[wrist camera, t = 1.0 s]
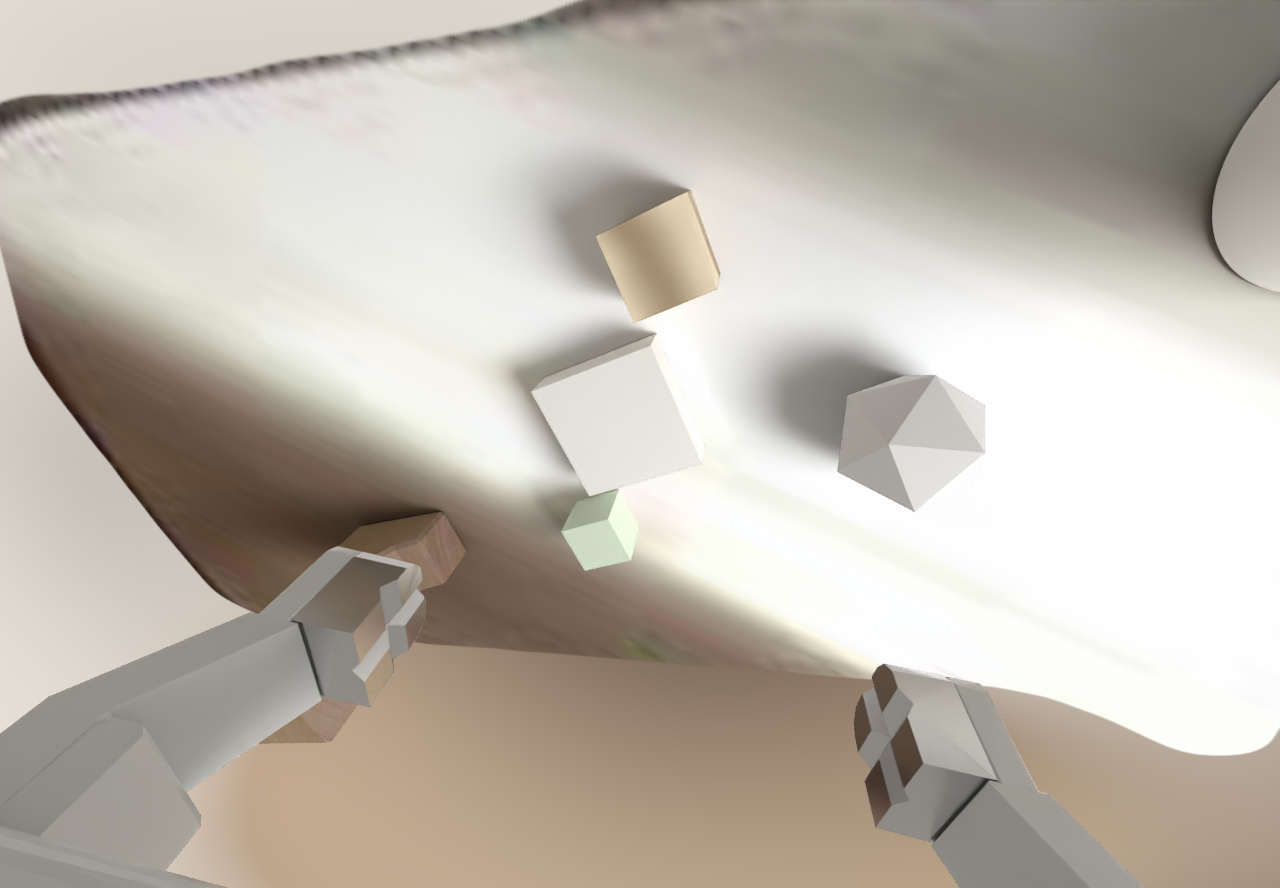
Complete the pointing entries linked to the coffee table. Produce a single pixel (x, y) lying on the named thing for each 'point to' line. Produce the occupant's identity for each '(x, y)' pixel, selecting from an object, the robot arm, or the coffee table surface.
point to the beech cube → (661, 257)
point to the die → (912, 439)
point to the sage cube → (601, 530)
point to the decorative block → (437, 557)
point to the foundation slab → (621, 417)
